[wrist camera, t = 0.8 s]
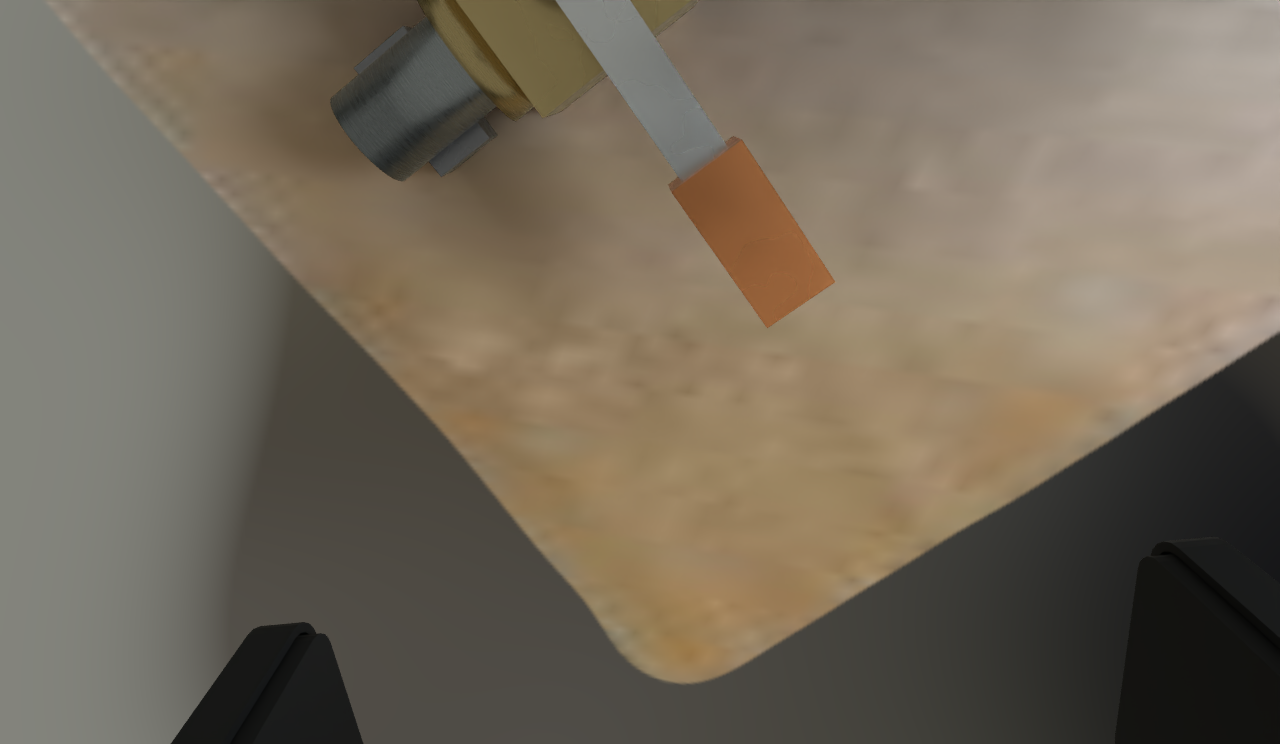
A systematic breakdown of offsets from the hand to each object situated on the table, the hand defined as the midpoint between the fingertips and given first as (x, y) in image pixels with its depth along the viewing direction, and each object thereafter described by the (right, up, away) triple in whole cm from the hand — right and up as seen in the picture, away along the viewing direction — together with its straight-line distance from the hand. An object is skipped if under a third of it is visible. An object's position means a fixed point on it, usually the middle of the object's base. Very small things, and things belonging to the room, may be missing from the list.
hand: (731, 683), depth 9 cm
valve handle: (0, +11, +14) cm, 18 cm away
